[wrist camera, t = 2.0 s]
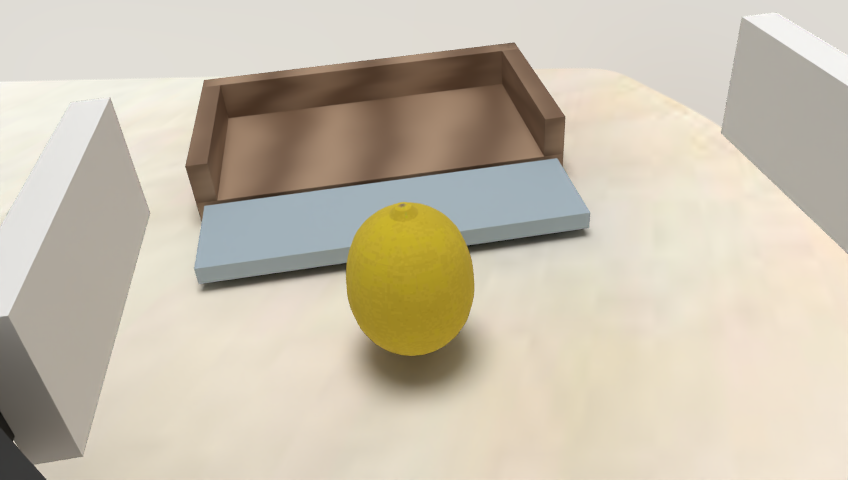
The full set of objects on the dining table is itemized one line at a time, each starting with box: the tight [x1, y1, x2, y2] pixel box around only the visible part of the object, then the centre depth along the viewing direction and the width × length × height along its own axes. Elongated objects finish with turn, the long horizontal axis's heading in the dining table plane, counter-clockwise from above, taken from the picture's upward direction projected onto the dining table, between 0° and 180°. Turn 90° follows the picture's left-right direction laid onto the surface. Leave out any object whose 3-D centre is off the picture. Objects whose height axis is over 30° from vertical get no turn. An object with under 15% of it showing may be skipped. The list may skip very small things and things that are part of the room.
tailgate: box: [194, 158, 590, 284], centre depth 42 cm, size 21×1×6 cm
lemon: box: [346, 202, 474, 356], centre depth 32 cm, size 6×6×8 cm
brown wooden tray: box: [185, 43, 565, 221], centre depth 49 cm, size 22×12×4 cm, turn 99°
